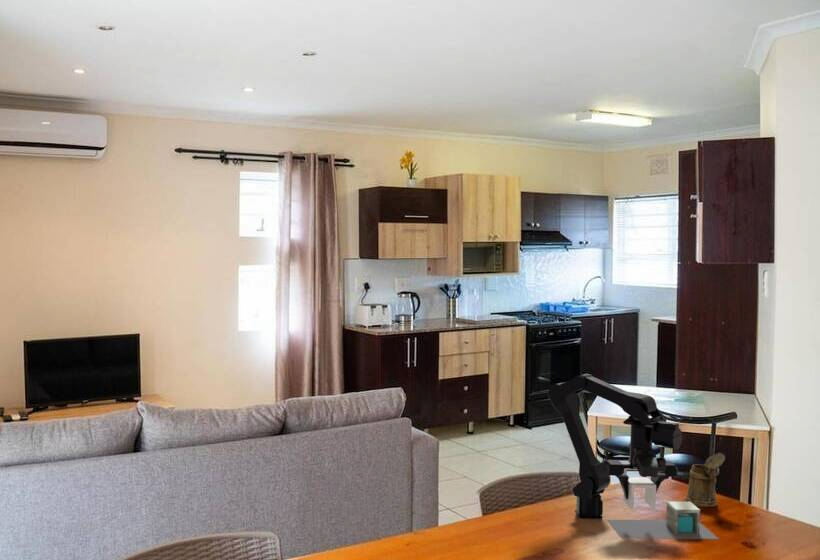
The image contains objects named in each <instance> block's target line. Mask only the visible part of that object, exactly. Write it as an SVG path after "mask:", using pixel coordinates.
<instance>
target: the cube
mask: <svg viewBox="0 0 820 560" xmlns="http://www.w3.org/2000/svg"><path fill="white" fill-rule="evenodd" d="M678 532H693V517H692V516H691V515H690V514H689V513H679V512H678Z"/></svg>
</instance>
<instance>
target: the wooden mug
mask: <svg viewBox="0 0 820 560" xmlns="http://www.w3.org/2000/svg"><path fill="white" fill-rule="evenodd" d="M725 460H726V455H725V453H722V452H720V451H719V452H716V453H714V454H711V455H710V456H708V457H707V458H706V459H705V461H704V464H702V463H701V464H699V463H697V464H695V463H694V464H692V465H691V469H690V470H689V481H688V484H687V485H688V486H687V491H686V495H685V497H684V499H685V500H684V502H691V503H693V504H694V505H695V506H696V507H703V508H710V507H711V508H712V507H716V506H718V499H717V495H716V483H717V473H716V470H717V469H718V468H719V467H721V466H722V464H723V463H724V462H725Z"/></svg>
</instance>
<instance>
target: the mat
mask: <svg viewBox="0 0 820 560" xmlns="http://www.w3.org/2000/svg"><path fill="white" fill-rule="evenodd" d="M606 522H607V523H609V525H610V526H611V528H612V529H613V530H614V531H615V532H616V533H617V535H618V536H619V538H621V539H644V540H645V539H647V540H648V539H650V540H651V539H655V540H656V539H661V540H662V539H663V540H667V539H668V540H670V539H671V540H672V539H673V540H674V539H676V540H719V537H717V535H715V534H714V533H713V532H712V531H711V530H709V528H707V527H706V526H705V525H704V524H703V523H701V522H700V531H699V534H697V533H696V532H694V531H693V532H678V533H674V532H673V531H672V530H671V529H670V528H669V527H668V526H667V525H666V519H606Z"/></svg>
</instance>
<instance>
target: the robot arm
mask: <svg viewBox="0 0 820 560" xmlns="http://www.w3.org/2000/svg"><path fill="white" fill-rule="evenodd" d="M583 391H586V392H589V393H590V394H593V395H595V396H597V397H599V398H602V399H604V400H606V401H607V402H610V403H613V404H615V405H616V406H618V407H620V408H621V410H622V411H623V412H624V413H626V414H628V417H627V418H626V419H625V420H623V421H622V422H623V425H624V424H625V425H629V426H630V440H629V441H630V442H629V443H628V448H629V457H628V463H622V462H621V460H619V459H617V460H616V459H605V460H604V461H600V460H599V459H598V458H597V457H596V455H595V452H594V450H593V446H592V445H591V442H590V439H589V436H588V434H587V430H586V427H585V425H584V423H583V421H582V418H581V415H580V412H579V409H578V408H579V396H578V394H580V393H582V392H583ZM547 397H548V399H549V401H550V402H551V405H552V407H553V409H555V410H556V411H557V412H558V413H559V414H560V415H561V416H562V420H563V421H564V425H565V427H566V431H567V433H568V436H569V439H570V440H571V444H572V446H573V449H574V452H575V455H576V457H577V459H578V464H579V466H578V467H579V469H578V476H579V480H580V482H578V483H577V484H576V485H575V486H573V487H572V492H573V495H574V496H575V497H576V509H575V510H574V512H575V514H576V515H577V517H578V518H579V519H583V520H584V519H585V520H588V519H589V520H591V519H593V520H594V519H595V520H596V519H597V520H602V519H603V514H604V513H603V512H604V510H603V507H604V503H603V500H602V496H601V494H603V493H604V492H605V490H606V489H607V488H608V487H609V485H610V482H611V477H610V476H615V477H616V478H617V479H618V481H619V483H620V485H621V490H622V492H623V496H624V495H625V498H626V499H627V500H628V479H629V477H630V476H629V475H628V474H627V473H628V472H638V475H639V476H640V477H641V478H649V477H650V480H651V481H652V482H653V483H655V484H656V494H657V492H658V490H659V487H660V486H661V485H662V482H664V480H668V479H669V477H678V476H679V468H678V466H677V465H676V464H675V463H673V462H672V461H671V460H666V458H665V457H655V451H654V448H653V444H654V446H655V447H659V448H660V447H661V448H667V449H671V450H679V449H680V447H681V445H682V442H683V434H682V430H681V428H680V423H677V422H670V421H669V422H668V421H665V419H664V417H663V415H662V414H661V412H660V410H659V408H658V407H657V403H656V400H655V398H654V397H652V396H651V395H647V394H643V393H639V392H631V391H627V390H625V389H622V388H619V387H617V386H615V385H614V384H611V383H609V382H606V381H604V380H601V379H599V378H598V377H595V376H593V375H591V374H590V373H584V374H579V375H577V376H576V377H574V378H572V379H570V380H567V381H564V382H558V383H554V384H552V385H550V387H549V389H548V390H547Z"/></svg>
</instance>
